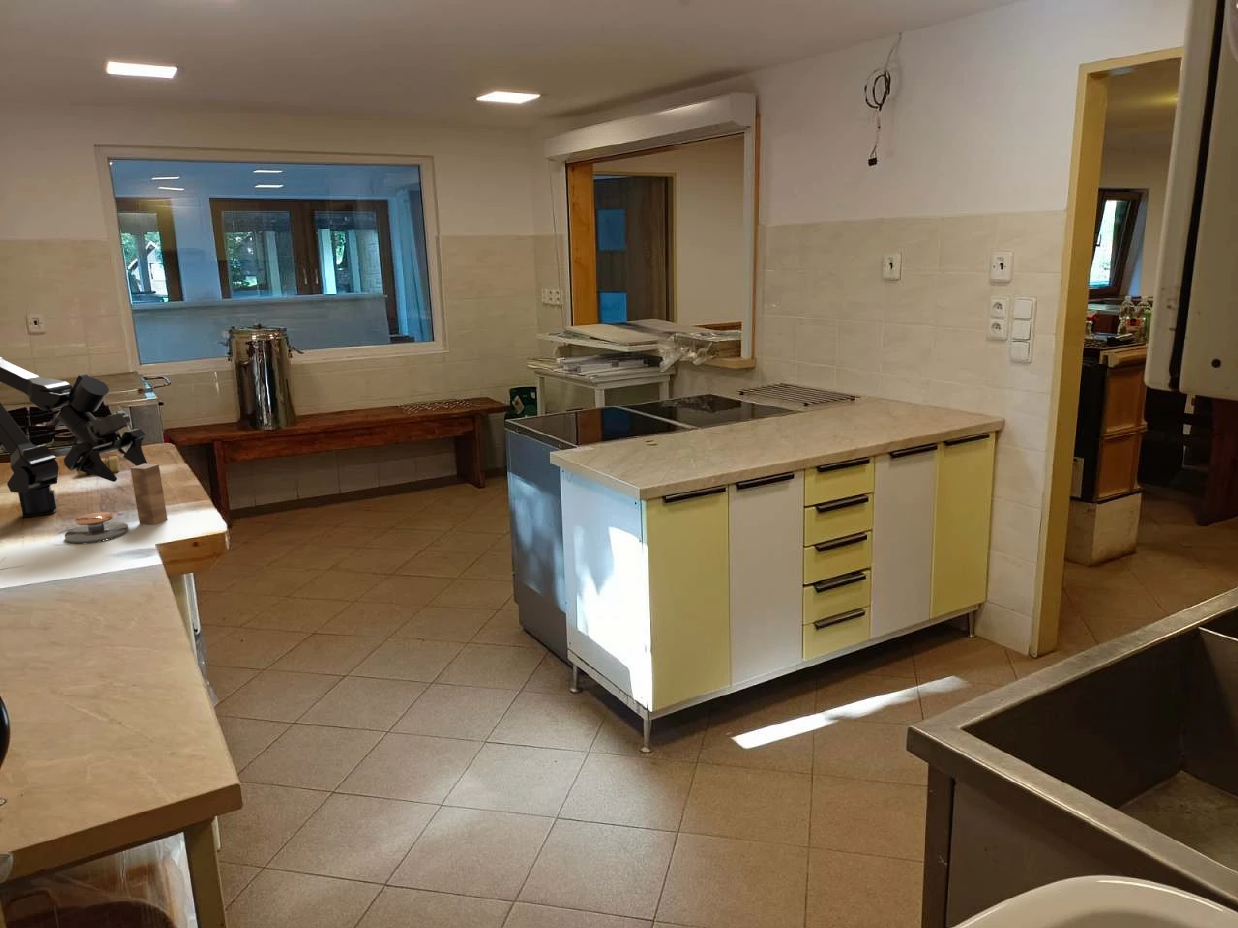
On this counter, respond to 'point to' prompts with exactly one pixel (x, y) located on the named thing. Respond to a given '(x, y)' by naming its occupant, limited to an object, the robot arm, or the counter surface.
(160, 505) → the walnut stick
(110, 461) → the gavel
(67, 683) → the counter surface
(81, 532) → the copper topped disc
